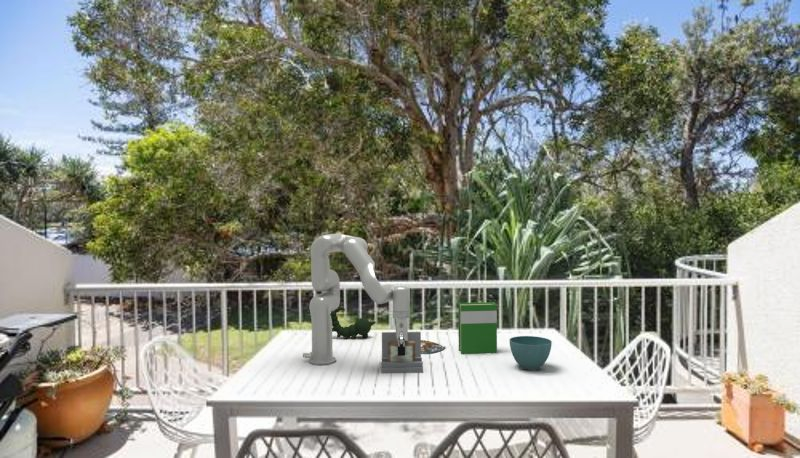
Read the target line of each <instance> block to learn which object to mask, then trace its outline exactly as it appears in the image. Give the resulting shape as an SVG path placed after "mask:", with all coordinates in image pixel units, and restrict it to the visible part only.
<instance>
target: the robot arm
mask: <svg viewBox="0 0 800 458" xmlns="http://www.w3.org/2000/svg"><path fill="white" fill-rule="evenodd" d="M367 251H368V243H367V241H366V240H365V239H363V238H362V237H358V236H354V235H348V234H342V233H328V234H323V235H319V236H318V237H317V238H316V239H314V240H313V242H312V243H311V247H310V262H311V263H310V264H311V265H310V266H311V267H310V269H311V270H310V272H311V275H310V276H311V286H312V289H313V290H314V291H316V292H321V293H320V294H316V295H315V296H313V297H312V298H311V300H310V302H309V305H308V307H309V313H310V320H311V352H310V351H309V352H302V357H303V358H305V359H308V358H309V359H308V363H309V364H311V365H317V366H319V365H320V366H321V365H322V366H324V365H331V364H333V363H336V361H337V358H336V357H335V356H333V332H332V328H333V326H332V320H331V316H330V313H331V312H332V311H335V310H336V309H337V308H338V307H340V302H341V288H340V287H341V284H340V282H341V281H340V278H339V274H338V273H337V272H336V271H335V270H333V269H331V268H330V267H331V266H330V264H331V263H330V258H329V255H328V254H330V253H336V252H340V253H344V254H345V256H346V257H347V259H348V260H349V262H350V263H351V264H352V265H353V267H354V268H355V270H356V271H357V273H358V274H359V278H360V282H361V284H362V287H363V289H364V291H365V292H366V293H367V295H368V296H369V298H370V299H371V300H372V301H373V302H374V303H376V304H378V305H382V304H386V303H388V302H391V301H392V318H393V319H395V320H394V321H395V332H396V338H397V341H398V356H405V342H404V341H405V340H406V341H408V332H409V330H408V326H409V324H408V319H410V316H411V315H410V311H411V310H410V306H411V305H410V301H411V300H410V298H411V295H410V294H411V293H410V288H409V287H408V286H407V285H393V284H383V285H382V284H381V283H380V282H379V280H378V279H377V276H376V273H375V266H376V263H375V261H374V260H373V258H372V257H371V256H370V255H369V253H368V252H367ZM404 339H405V340H404ZM399 344H400V345H399Z"/></svg>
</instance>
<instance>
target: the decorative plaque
mask: <svg viewBox="0 0 800 458" xmlns="http://www.w3.org/2000/svg"><path fill="white" fill-rule="evenodd" d="M445 349H446V346H445V345H442V344H441V343H439V342H434V341H433V342H432V341H430V340H424V339H421V355H430V354H435V353H439V352H442V351H444V350H445Z"/></svg>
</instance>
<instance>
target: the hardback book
mask: <svg viewBox="0 0 800 458" xmlns="http://www.w3.org/2000/svg"><path fill="white" fill-rule="evenodd" d="M497 308H498V305H497V303H496V302H494V301H490V302H489V301H486V302H483V301H482V302H481V301H479V302H458V309H457V310H458V351H459V352H460V355H478V354H479V355H484V354H487V353H491V354H498V321H497V320H498V313H497V312H498V311H497V310H498V309H497ZM487 355H488V354H487Z"/></svg>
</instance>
